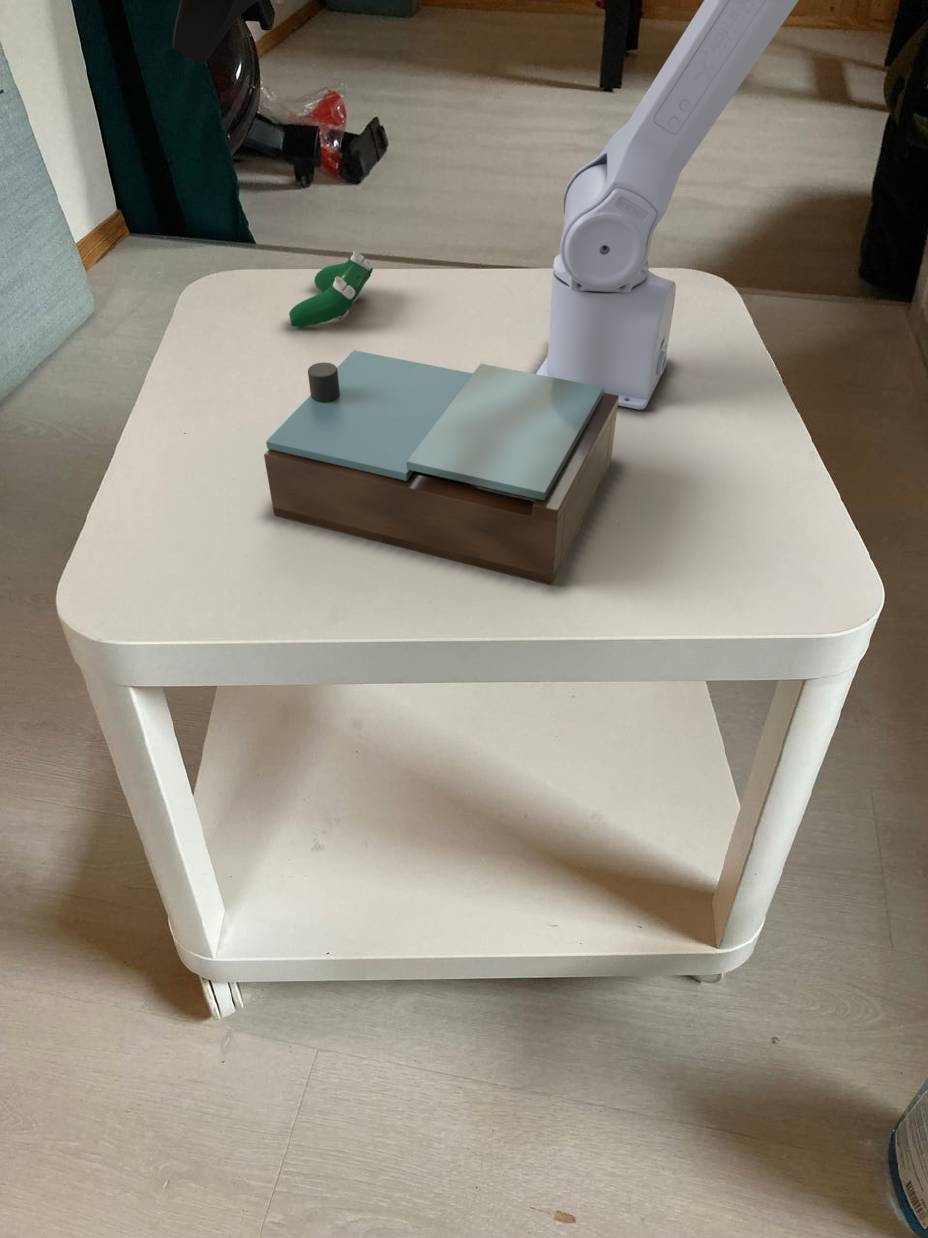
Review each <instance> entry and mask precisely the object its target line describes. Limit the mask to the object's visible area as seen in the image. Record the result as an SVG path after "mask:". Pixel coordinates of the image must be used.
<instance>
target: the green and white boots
mask: <svg viewBox="0 0 928 1238" xmlns="http://www.w3.org/2000/svg"><path fill="white" fill-rule="evenodd" d="M373 270H374V268H373V265H372V263H371V262H370V261H369V259H367V258H365V256H364V255H362V254H361V253H360V252H358V250H353V252H352V255H351V256H350V257H348V259H347V261H346V262H342V263H336V264H332V265H327V266H325V267H323V268H322V269H321V270H319V271H318V272H317V273H316V274H315V277H314V279H313V280H314V284H315V286H316V288H317V289H318V290H319V291H322V292H320V293H317V294H315V295H314V296H311V297H309V298H307V299H304V300H302V301H301V302H299V303H298V304H296V305H294V306H293V308H291V309H290V311H289V313H288V314H289V320H290V326H291V327H294V328H295V327H296V328H302V327H303V328H304V327H311V326H313V327H314V326H317V325H320V324H324V323H327V322H329V321H332V320H334V319H337V318H339V319H341V320H343V319H344V318H345V317H346V316H347V315H348V314H349V309H350V308H351V307H352V306H353V304H354V303H355V302H356V300H357V299H358V297H359V294H360V292H361V291H362V290H363V288H364V286H365V285H366V283H367V282H368V280H369V279H370V277H371V274H372V273H373Z"/></svg>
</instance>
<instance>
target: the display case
mask: <svg viewBox="0 0 928 1238" xmlns="http://www.w3.org/2000/svg"><path fill="white" fill-rule="evenodd" d="M603 392H604V387H600V386H595V385H589V384H584V383H579V382H574V381H569V380H563V379H558V378H553V377H548V376H543V375H537V374H536V373H532V372H526V371H521V370H516V369H512V368H506V367H500V366H495V365H490V364H486V363H480V364H479V365H478V366H477V367H476V369H475V370H474V371H473V374H472V376H471V377H470V378H469V380H468V381H467V382H466V384H465V385H464V386H463V388H462V389H461V390H460V392H459V393H458V394H457V395H456V397H455V398H454V399H453V401H452V402H451V403H450V405H449V406H448V407H447V409H446V410H445V411H444V413H443V414H442V415H441V417H440V418H439V419H438V421H437V422H436V423H435V424H434V426H433V427H432V428H431V430H430V431H429V432H428V434H427V435H426V436H425V438H424V439H423V440H422V442H421V443H420V444H419V446H418V447H417V448H416V450H415V451H414V452H413V454H412V455H411V456H410V457H409V459H408V460H407V462H406V465H407V469H408V470H412V471H414V472H413V473H412V475H411V476H410V477H409V479H408V480H407V481H404V480H400V479H396V478H391V477H387V476H383V475H378V474H374V473H370V472H365V471H361V470H357V469H353V468H348V467H344V466H340V465H335V464H331V463H327V462H322V461H318V460H314V459H309V458H305V457H301V456H296V455H292V454H288V453H283V452H279V451H275V450H271V449H267V450H266V452H265V453H264V454H263V458H264V463H265V469H266V470H265V471H266V476H267V481H268V487H269V494H270V498H271V499H270V500H271V505H272V511H273V516H274V517H279V518H283V519H287V520H291V521H295V522H299V523H303V524H307V525H311V526H315V527H318V528H323V529H326V530H331V531H334V532H339V533H342V534H346V535H350V536H355V537H358V538H362V539H366V540H371V541H375V542H379V543H383V544H386V545H390V546H394V547H398V548H402V549H406V550H409V551H413V552H418V553H422V554H425V555H429V556H433V557H438V558H442V559H446V560H450V561H454V562H458V563H461V564H466V565H468V566H469V565H470V566H473V567H477V568H481V569H486V570H490V571H494V572H497V573H501V574H505V575H510V576H513V577H516V578H517V577H518V578H522V579H526V580H530V581H533V582H537V583H541V584H545V585H549V586H553V584H554V582H555V581H556V579H557V577H558V574H559V573H560V571H561V568H562V567H563V564H564V562H565V560H566V558H567V556H568V554H569V552H570V550H571V548H572V546H573V544H574V542H575V539H576V538H577V536H578V534H579V531H580V530H581V528H582V526H583V523H584V521H585V519H586V517H587V516H588V513H589V511H590V509H591V507H592V506H593V503H594V501H595V499H596V497H597V495H598V494H599V491H600V489H601V487H602V484H603V482H604V480H605V479H606V477H607V474H608V473H609V470H610V468H611V467H612V466H611V465H612V457H613V448H614V440H615V433H616V432H615V431H616V423H617V415H618V408H619V405H618V400H619V396H618V395H613V394H608V393H603Z"/></svg>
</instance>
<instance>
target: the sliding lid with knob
mask: <svg viewBox="0 0 928 1238" xmlns="http://www.w3.org/2000/svg"><path fill="white" fill-rule="evenodd" d="M473 373H474V372H473ZM473 373H472V372H467V371H463V370H458V369H452V368H446V367H442V366H436V365H432V364H426V363H421V362H416V361H411V360H406V359H400V358H396V357H392V356H391V357H390V356H386V355H380V354H376V353H371V352H365V351H360V350H352V352H350V354H348V355H347V357H346V358H344V360H343V361H342V362H341V363H340V364H339V365H338V366H336V365H335V364H333V363H330V362H316V363H314V364H312V365H311V366H309V367H308V370H307V377H308V384H309V393H310V395H309V396H308V397H307V398H306V399H305V400H304V401H303V403H301V404H300V406H299V407H298V408H297V409H296V410H295V411H294V412H293V413H292V414H291V415H290V416H289V417H288V418H287V419H286V420H285V421H284V422H283V423H282V424H281V425H280V426H279V427H278V428H277V430H275V431H274V433H272V434H271V435H270V437H269V438H267V439H266V441H265V443H266V449H267V450H269V449H271V450H275V451H279V452H283V453H288V454H292V455H296V456H301V457H305V458H309V459H314V460H318V461H322V462H327V463H331V464H335V465H340V466H344V467H348V468H353V469H357V470H361V471H365V472H370V473H374V474H378V475H383V476H387V477H391V478H396V479H400V480H404V481H407V480H408V479H409V477H410V476H411V475H412V473H413V472H414V471H412V470H408V469H407V465H406V462H407V460H408V459H409V457H410V456H411V455H412V454H413V452H414V451H415V450H416V448H417V447H418V446H419V444H420V443H421V442H422V440H423V439H424V438H425V436H426V435H427V434H428V432H429V431H430V430H431V428H432V427H433V426H434V424H435V423H436V422H437V421H438V419H439V418H440V417H441V415H442V414H443V413H444V411H445V410H446V409H447V407H448V406H449V405H450V403H451V402H452V401H453V399H454V398H455V397H456V395H457V394H458V393H459V392H460V390H461V389H462V388H463V386H464V385H465V384H466V382H467V381H468V380H469V378H470V377H471V376H472V374H473Z"/></svg>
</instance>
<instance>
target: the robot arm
mask: <svg viewBox="0 0 928 1238" xmlns="http://www.w3.org/2000/svg"><path fill="white" fill-rule="evenodd" d="M258 1H260V0H179V6H178V10H177V14H176V18H175V23H174V29H173V35H172V48H173V49H174V50H175V51H177V52H179V54H182V55H183V56H185V57H187V58H189V59H191V60H192V61H194V62H196V63H198V64H199V65H202V66H203V65H204V64H205V63H206V62H207V60H208V59H209V58H210V57H211V56H212V54H213V53H214V51H216V49H217V47H218V46H219V45H220V43H221V42H222V41H223V39H224V37H225V36H226V34H227V33H228V32H229V30H230V29H231V28H232V26H233V25H234V23H235V22H236V21H237V20H238V19H239V18H240V17H241V16H242V15H243V14H244V13H245V12H246V11H247V10H248V9H249V8H250V7H252V6H253V5H254V4H255V3H257V2H258ZM798 2H799V0H703V2H702V3H701V5H700V6H699V8H698V10H697V11H696V13H695V14H694V17H693V18H692V19H691V21H690V23H689V24H688V26H687V27H686V29H685V31H684V32H683V34H682V35H681V37H680V38H679V40H678V41H677V43H676V44H675V46H674V48H673V50H672V51H671V53H670V55H669V56H668V58H667V59H666V60H665V62H664V64H663V65H662V67H661V68H660V70H659V72H658V74H657V75H656V77H654V80H653V81H652V83H651V85H650V86H649V88H648V90H647V91H646V93H645V94H644V95H643V98H642V99H641V101H640V103H639V104H638V106H637V107H636V108H635V110H634V112H633V113H632V115H631V117H630V118H629V120H628V121H627V122H626V124H624V126H622V127H621V128H620V129H619V130H617V132H615V134H613V135H612V136H611V137H610V139H609V140H608V142H607V143H606V145H605V147H604V148H603V149H602V151H601V152H600V154H598V155H597V156H596V157H595V158H594V159H592V160H591V161H589V162H588V163H586V164H585V165H583V166H581V167H580V168H579V169H578V170H577V171H575V173H574V174H573V175H572V176H571V177H570V179H569V181H568V183H567V185H566V187H565V190H564V195H563V200H562V206H563V214H564V216H563V231H562V234H561V237H560V243H559V253H558V254H557V255H556V256H555V258H554V260H553V263H552V280H551V297H550V311H549V312H550V314H549V327H548V329H549V330H548V343H547V344H548V345H547V356H546V357H545V359H544V361H543V362H542V364H541V365H540V367H539V368H538V370H537V372H535V374H537V375H543V376H548V377H553V378H558V379H563V380H569V381H574V382H579V383H584V384H589V385H595V386H600V387H604V392H603V393H608V394H613V395H618V396H619V400H618V407H619V406H620V407H624V408H629V409H635V410H644V409H646V408H647V406H648V403H649V402H650V399H651V397H652V396H653V393H654V391H655V389H656V388H657V385H658V383H659V381H660V378H661V377H662V375H663V374H664V370H665V368H666V366H667V356H668V354H667V353H668V347H669V340H670V334H671V327H672V322H673V321H672V320H673V314H674V307H675V301H676V282H675V281H673V280H671V279H666V278H664V277H661V276H658V275H657V274H655V273H654V272H651V271H650V270H649V269H650V268H649V261H648V258H649V255H650V249H651V243H652V238H653V235H654V232H655V230H656V228H657V226H658V225H659V223H660V222H661V220H662V219H663V218H664V216H665V214H666V213H667V210H668V208H669V205H670V204H671V203H670V202H671V200H672V196H673V194H674V191H675V188H676V186H677V184H678V181H679V178H680V174H681V173H682V171H683V170H684V168H685V167H686V165H687V163H688V162H689V161H690V159H691V158H692V156H693V154H694V153H695V152H696V151H697V149H698V148H699V147H700V145H701V143H702V142H703V140H704V139H705V138H706V136H707V135H708V133H709V132H710V130H711V128H712V127H713V126H714V125H715V122H716V121H717V120H718V119H719V117H720V115H722V112H723V111H724V110H725V109H726V107H727V105H728V104H729V103H730V101H731V100H732V98H733V97H734V95H735V93H736V92H737V91H738V89H739V88H740V86H741V85H742V83H743V82H744V80H745V79H746V78H747V77H748V75H749V74H750V72H751V71H752V69H753V68H754V66H755V64H757V62H758V60H759V59H760V57H761V56H762V55H763V53H764V52H765V50H766V49H767V47H768V46H769V44H770V43H771V41H772V40H773V38H774V37H775V36H776V34H777V33H778V31H779V30H780V28H781V27H782V26H783V24H784V22H785V21H786V20H787V18H788V17H789V15H790V14H791V12H792V11H793V9H794V8H795V6H796V5H797V4H798Z"/></svg>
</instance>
